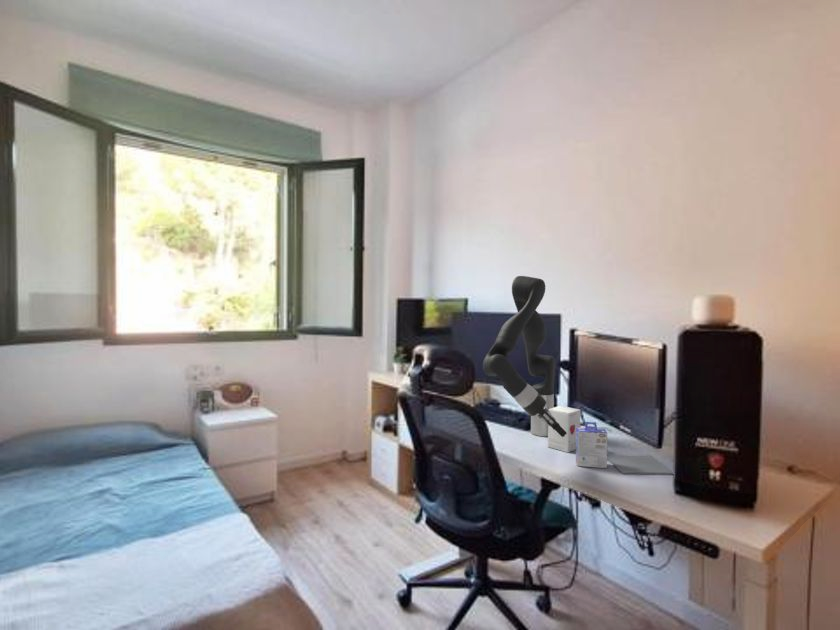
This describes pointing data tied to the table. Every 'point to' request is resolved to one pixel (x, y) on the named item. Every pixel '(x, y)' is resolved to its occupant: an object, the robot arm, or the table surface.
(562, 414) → the supplement box
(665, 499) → the table surface
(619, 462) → the mat
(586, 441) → the ink cartridge box
